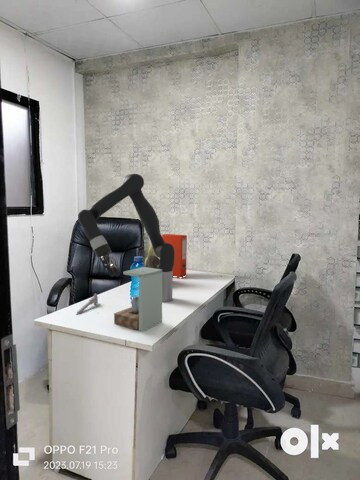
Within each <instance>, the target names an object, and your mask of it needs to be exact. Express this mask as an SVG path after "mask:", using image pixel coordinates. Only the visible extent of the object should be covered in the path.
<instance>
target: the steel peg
mask: <svg viewBox="0 0 360 480" xmlns="http://www.w3.org/2000/svg"><path fill="white" fill-rule="evenodd" d="M131 307H132V314H136V315H137V314H139V296H132V297H131Z"/></svg>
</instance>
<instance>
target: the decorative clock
mask: <svg viewBox="0 0 360 480" xmlns="http://www.w3.org/2000/svg"><path fill="white" fill-rule="evenodd" d="M147 254H148V256H147V257H145V260H144V266H143V267H147V268H154V269H157V265H159V263H160V258H159V257H158V256H157V255H156V254H155V252H154V249H153V246H152V244H150V246H149V248H148V252H147Z"/></svg>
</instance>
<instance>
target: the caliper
mask: <svg viewBox="0 0 360 480" xmlns="http://www.w3.org/2000/svg"><path fill="white" fill-rule="evenodd" d="M98 303H99V301H98V294H97V293H94V294H93V296H92V297H91V298H90V299H88V301H87V303H85V304H84V305H83V306H82V307H81V308H80V309H79V310H77V311H76V313H75V315H76V316H77V315H80V314H81V313H83V312H84V311H85V310H86V309H87V308H88V307H89V306H90V305H97V304H98Z"/></svg>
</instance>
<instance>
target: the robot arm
mask: <svg viewBox="0 0 360 480" xmlns="http://www.w3.org/2000/svg"><path fill="white" fill-rule="evenodd" d="M144 185H145V180H144V177H143V176H142V175H141V174H138V173H130V174H127V175H125V176H124V177H123V179H122V185H120V186H119V187H118V188H115V189H114V190H112V191H110V192H109V193H107V194H105V195H104V196H102V197H101V198H99V199H98V200H97V201H95V202H94V203H93V204H92V206H91V207H90V208H89V209H86V208H85V209H81V210H80V211H79V212H78V214H77V218H78V223H79V224H80V225H81V226H82V228H83V229H84V231H85V235H86V237H87V239H88V241H89V243H90V246H91V248H92V251H93V252H94V255H95V256H96V258H97V259H99V260H100V262H101V264H102V266H103V268H104V269H105V270H106V271H107V272H108V274H109V276H110V277H111V278H112V277H114V276H115V277H116V278H117V277H119V276H120V275H121V274H120V272H119V269H118V265H117V263H116V261H115V259H114V257H113V256H110V254H111V253H112V250H111V247H110V246H109V244H108V242H107V239H106V238H105V237H104V234H103V233H102V232H101V229H100V228H99V226H98V224H97V221H98V220H99V219H100V217H101V216H103V215H104V214H105V213H107V212H108V211H109V210H111V209H112V208H113V207H114V206H116V205H117V204H118V203H120V202H121V201H123V200H124V199H126V198H127V197H129V198H130V200H131V202H132V203H133V206H134V208H135V211H136V213H137V215H138V217H139V219H140V222H141V224H142V226H143V228H144V230H145V232H146V234H147V237H148V238H149V240H150V243H151V245H152V246H153V249H154V252H155V254H156V255H157V256H158V257H157V258H158V259H160V263H159V265H157V269H161V270H162V303H163V302H165V303H167V302H171V301H173V289H174V288H173V284H174V283H173V278H174V277H173V266H174V257H175V251H174V247H173V246H172V245H171V244H169V243H165V241H164V240H163V238H162V233H161V229H160V228H161V227H160V220H159V218H158V215H157V212H156V211H155V209H154V207H153V206H152V205H151V203H150V202H149V201H148V199H146V197H145V195H144V194H143V191H142V189H143V187H144Z"/></svg>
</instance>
